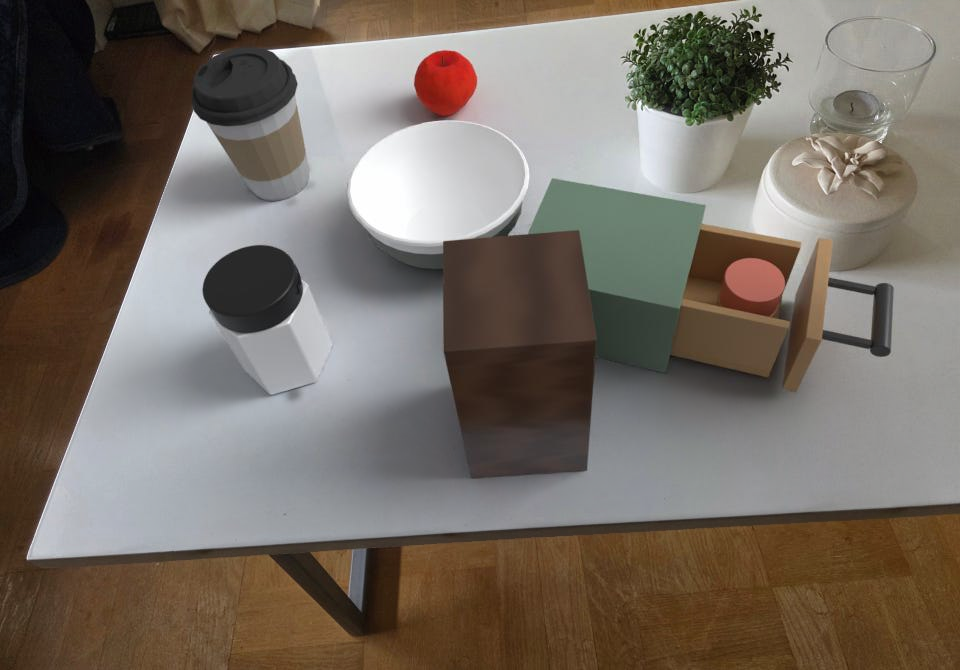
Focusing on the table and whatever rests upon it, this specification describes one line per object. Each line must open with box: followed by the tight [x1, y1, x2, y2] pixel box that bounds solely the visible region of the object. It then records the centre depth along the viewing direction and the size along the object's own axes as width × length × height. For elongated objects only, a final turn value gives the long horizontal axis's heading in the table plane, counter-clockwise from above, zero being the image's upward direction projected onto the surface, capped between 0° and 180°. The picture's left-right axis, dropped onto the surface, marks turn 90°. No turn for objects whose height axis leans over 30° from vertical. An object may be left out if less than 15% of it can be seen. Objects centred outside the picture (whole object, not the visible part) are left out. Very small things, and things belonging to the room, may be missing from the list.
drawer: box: [670, 223, 895, 393], centre depth 65 cm, size 19×11×8 cm, turn 70°
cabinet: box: [527, 177, 707, 374], centre depth 69 cm, size 15×13×10 cm
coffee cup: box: [190, 46, 310, 202], centre depth 82 cm, size 11×11×15 cm
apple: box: [413, 49, 478, 117], centre depth 91 cm, size 8×8×7 cm
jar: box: [201, 244, 334, 396], centre depth 67 cm, size 9×8×12 cm
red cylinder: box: [716, 258, 786, 318], centre depth 65 cm, size 5×5×6 cm
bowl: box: [346, 119, 530, 270], centre depth 77 cm, size 19×19×8 cm
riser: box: [442, 230, 597, 479], centre depth 58 cm, size 10×10×19 cm
